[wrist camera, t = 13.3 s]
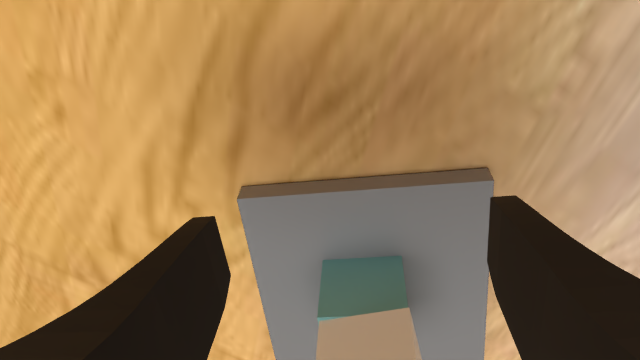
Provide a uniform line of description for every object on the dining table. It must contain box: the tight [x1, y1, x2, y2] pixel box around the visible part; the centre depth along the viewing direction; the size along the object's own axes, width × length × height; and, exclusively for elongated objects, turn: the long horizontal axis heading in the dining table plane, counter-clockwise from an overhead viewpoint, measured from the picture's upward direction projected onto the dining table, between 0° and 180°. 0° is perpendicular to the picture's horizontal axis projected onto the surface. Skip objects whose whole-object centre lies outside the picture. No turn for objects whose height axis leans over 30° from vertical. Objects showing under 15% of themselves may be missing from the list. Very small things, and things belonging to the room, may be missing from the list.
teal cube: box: [317, 256, 408, 325], centre depth 24 cm, size 4×4×4 cm
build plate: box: [237, 168, 494, 360], centre depth 26 cm, size 12×12×1 cm
